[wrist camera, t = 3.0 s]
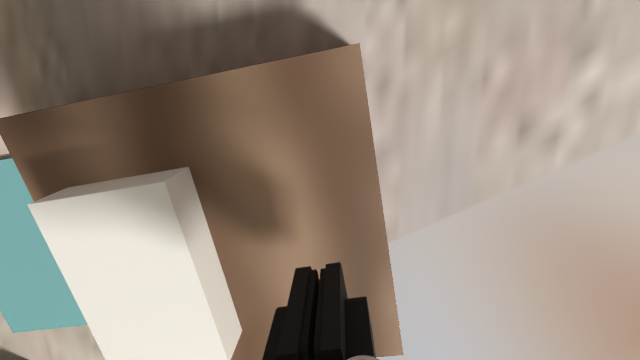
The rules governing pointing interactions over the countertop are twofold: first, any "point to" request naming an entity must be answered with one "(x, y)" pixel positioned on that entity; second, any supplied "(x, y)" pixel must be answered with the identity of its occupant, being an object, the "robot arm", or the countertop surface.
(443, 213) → the countertop surface
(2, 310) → the mat
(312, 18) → the countertop surface
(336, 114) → the brown wooden slab
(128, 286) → the cream bevelled block
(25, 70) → the countertop surface
